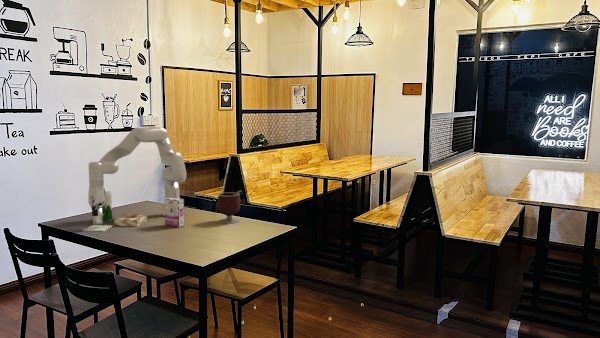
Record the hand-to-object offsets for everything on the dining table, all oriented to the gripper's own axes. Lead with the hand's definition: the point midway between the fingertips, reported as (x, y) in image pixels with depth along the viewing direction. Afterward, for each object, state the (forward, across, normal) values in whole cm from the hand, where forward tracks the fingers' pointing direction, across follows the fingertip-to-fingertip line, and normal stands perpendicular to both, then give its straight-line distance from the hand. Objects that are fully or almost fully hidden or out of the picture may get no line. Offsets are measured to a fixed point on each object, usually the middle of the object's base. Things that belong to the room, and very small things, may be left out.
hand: (97, 214), depth 258 cm
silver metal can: (+5, 0, 0) cm, 5 cm away
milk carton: (+8, -20, -7) cm, 23 cm away
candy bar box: (+8, -11, +41) cm, 43 cm away
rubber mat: (+8, 0, 0) cm, 8 cm away
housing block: (+8, -14, +13) cm, 21 cm away
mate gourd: (+8, -25, +71) cm, 76 cm away
